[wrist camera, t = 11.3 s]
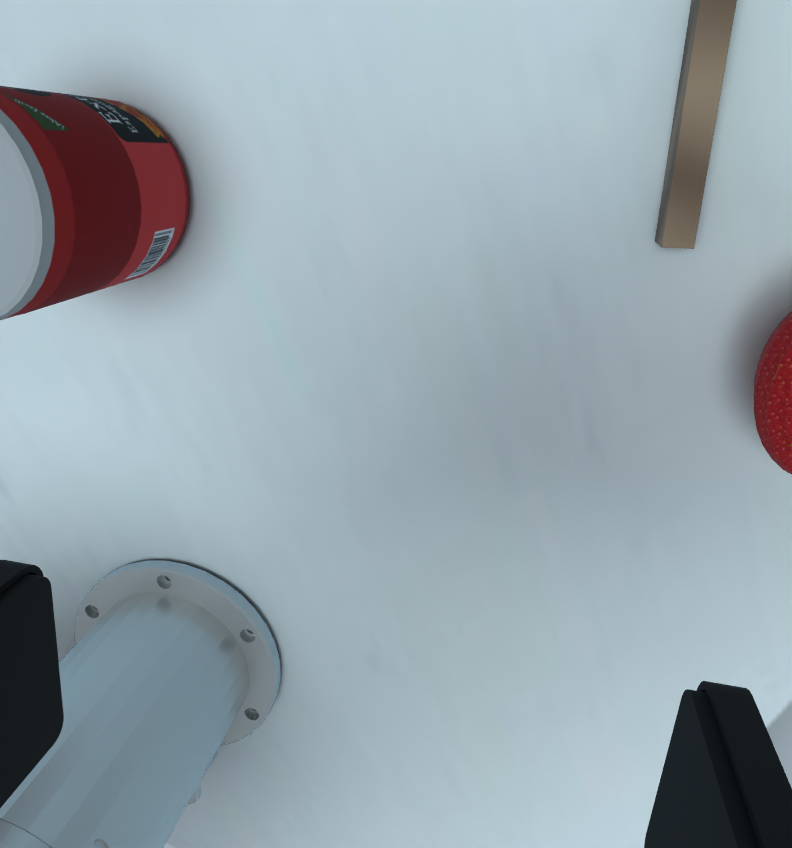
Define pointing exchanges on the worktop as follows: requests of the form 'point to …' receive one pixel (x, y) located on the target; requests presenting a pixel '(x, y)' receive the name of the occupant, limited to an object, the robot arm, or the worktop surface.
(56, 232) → the canned food
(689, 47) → the frame
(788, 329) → the strawberry
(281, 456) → the worktop surface
